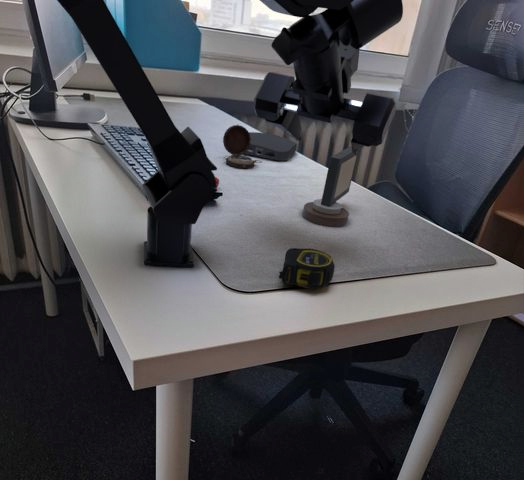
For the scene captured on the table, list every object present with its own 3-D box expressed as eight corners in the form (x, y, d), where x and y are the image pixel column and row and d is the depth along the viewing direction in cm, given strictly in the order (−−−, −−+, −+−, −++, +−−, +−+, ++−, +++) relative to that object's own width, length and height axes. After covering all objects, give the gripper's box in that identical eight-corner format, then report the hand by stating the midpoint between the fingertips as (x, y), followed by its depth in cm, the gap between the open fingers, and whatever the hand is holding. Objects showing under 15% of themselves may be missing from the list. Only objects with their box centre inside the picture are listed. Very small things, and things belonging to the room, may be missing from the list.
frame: (335, 217, 87) (347, 162, 82) (308, 209, 88) (318, 155, 83) (355, 199, 97) (368, 150, 92) (331, 193, 98) (341, 143, 93)
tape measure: (283, 266, 71) (287, 241, 69) (331, 276, 71) (337, 251, 69) (276, 288, 66) (280, 261, 64) (328, 299, 65) (335, 272, 63)
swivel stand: (353, 228, 88) (355, 219, 87) (309, 225, 86) (310, 216, 85) (338, 211, 95) (340, 203, 94) (297, 208, 93) (299, 200, 92)
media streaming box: (298, 151, 129) (300, 139, 127) (284, 163, 117) (286, 150, 115) (243, 139, 131) (245, 127, 129) (224, 150, 119) (225, 137, 117)
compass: (230, 168, 108) (234, 132, 104) (220, 157, 114) (224, 122, 110) (265, 170, 110) (270, 134, 106) (254, 159, 116) (259, 125, 112)
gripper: (415, 25, 61) (406, 115, 76) (274, 1, 66) (292, 89, 81) (381, 102, 59) (379, 178, 74) (240, 72, 65) (264, 148, 80)
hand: (327, 146), depth 77 cm, fingers open, 9 cm apart
